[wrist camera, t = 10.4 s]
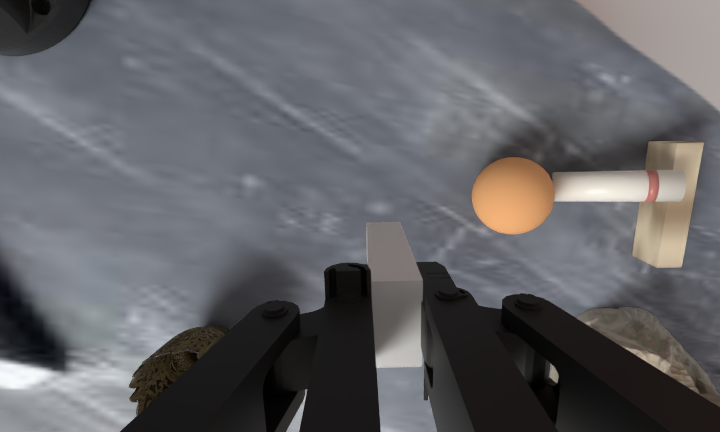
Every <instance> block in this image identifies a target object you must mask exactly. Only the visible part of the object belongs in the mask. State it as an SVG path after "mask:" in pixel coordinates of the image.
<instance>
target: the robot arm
mask: <svg viewBox="0 0 720 432" xmlns="http://www.w3.org/2000/svg"><path fill="white" fill-rule="evenodd" d="M88 2H89V0H0V55H4V56H23V55H29V54H34V53H37V52H40V51H43V50H45V49H48V48H50V47H52V46H53V45H55V44H57V43H58V42H60V41H61V40H62V39H63V38H65V37H66V36H67V35H68V34H69V33H70V32H71V31H72V30H73V29H74V27H75V26H76V25H77V23H78V22H79V21H80V19H81V17H82V16H83V14H84V12H85V10H86V7H87V5H88ZM366 234H367V264H359V263H340V264H336V265H332V266H330V267H328V268H326V270H325V271H324V278H325V298H326V299H325V304H324V307H323V308H321V309H319V310H316V311H313V312H309V313H304V314H300V312H299V308H298V306H297V305H296V304H294V303H292V302H287V301H278V300H276V301H273V302H272V301H269V302H266V303H265V304H262V305H259V306H257V307H256V308H254V309H253V310H251V311H250V312H249V313H248V314H247V315H246V316H245V317H244V318H243V319H242V320H241V321H240V322H238V323H237V324H236V325H235V326H234V327H233V328H232V329H231V330H230V331H229V332H228V333H227V334H225V335H224V336H223V337H222V338H221V339H220V340H219V341H218V342H217V343H216V344H215V345H214V346H212V347H211V348H210V349H209V350H208V351H207V352H206V353H205V354H204V355H203V356H202V357H201V358H199V359H198V360H197V361H196V362H195V363H194V364H193V365H192V366H191V367H190V368H189V369H188V370H186V371H185V372H184V373H183V374H182V375H181V376H180V377H179V378H178V379H177V380H176V381H175V382H173V383H172V384H171V385H170V386H169V387H168V388H167V389H166V390H165V391H164V392H163V393H162V394H160V395H159V396H158V397H157V398H156V399H155V400H154V401H153V402H152V403H151V404H150V405H149V406H147V407H146V408H145V409H144V410H143V411H142V412H141V413H140V414H139V415H138V416H137V417H135V418H134V419H133V420H132V421H131V422H130V423H129V424H128V425H127V426H126V427H125V428H124V429H122V430H121V431H120V432H286V431H287V429H288V427H289V425H290V423H291V422H292V420H293V418H294V416H295V414H296V412H297V411H298V409H299V407H300V405H301V403H302V402H303V400H304V396H305V389H308V390H307V395H306V400H305V406H304V411H303V416H302V421H301V426H300V431H299V432H380V417H379V402H378V387H377V372H376V368H384V367H422V353H423V357H424V400H428V395H429V399H430V403H431V407H432V411H433V415H434V419H435V423H436V428H437V432H720V407H719V406H717V405H716V404H714V403H712V402H711V401H709V400H708V399H706V398H704V397H703V396H701V395H699V394H698V393H696V392H695V391H693V390H691V389H690V388H688V387H687V386H685V385H683V384H682V383H680V382H678V381H677V380H675V379H674V378H672V377H670V376H669V375H667V374H666V373H664V372H662V371H661V370H659V369H657V368H656V367H654V366H653V365H651V364H649V363H648V362H646V361H645V360H643V359H641V358H640V357H638V356H636V355H635V354H633V353H632V352H630V351H628V350H627V349H625V348H624V347H622V346H620V345H619V344H617V343H615V342H614V341H612V340H611V339H609V338H607V337H606V336H604V335H603V334H601V333H599V332H598V331H596V330H595V329H593V328H591V327H590V326H588V325H586V324H585V323H583V322H582V321H580V320H578V319H577V318H575V317H574V316H572V315H570V314H569V313H567V312H565V311H564V310H562V309H561V308H559V307H557V306H556V305H554V304H553V303H551V302H549V301H547V300H545V299H543V298H540V297H536V296H534V295H532V294H527V295H526V294H522V293H521V294H515V295H510V296H506V297H505V298H504V299H503V300H502V309H496V308H488V307H483V306H479V305H478V304H477V303H476V301H475V299H474V298H473V296H472V295H471V294H470V293H469V292H468V291H466V290H464V289H461V288H457V287H456V286H455V284H454V282H453V280H452V279H451V277H450V275H449V274H448V272H447V270H446V268H445V267H444V266H443V265H441V264H439V263H437V262H416V261H415V259H414V256H413V254H412V251H411V249H410V246H409V243H408V241H407V238H406V236H405V233H404V231H403V228H402V226H401V223H400V222H375V223H366ZM550 363H551V364H552V365H553V366H554V367H555V369H556V371H557V373H558V375H559V377H558V382H557V383H556V382H554V381H553V380H552V379H551V378H550V377H549V372H550Z"/></svg>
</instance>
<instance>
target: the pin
mask: <svg viewBox="0 0 720 432" xmlns="http://www.w3.org/2000/svg"><path fill="white" fill-rule="evenodd" d="M552 183H553V186H554V191H555V199H554V201H599V202H680V201H681V200H682V199H683V197H684V195H685V191H686V177H685V173H684V171H683V170H681V169H680V170H655V169H649V170H633V171H586V172H553V173H552Z"/></svg>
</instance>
